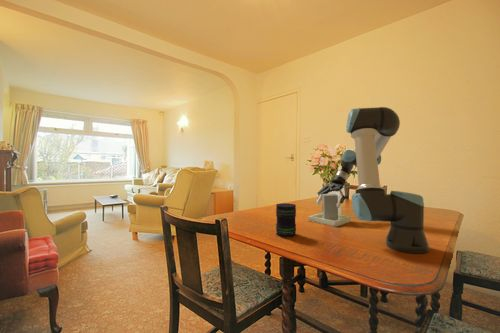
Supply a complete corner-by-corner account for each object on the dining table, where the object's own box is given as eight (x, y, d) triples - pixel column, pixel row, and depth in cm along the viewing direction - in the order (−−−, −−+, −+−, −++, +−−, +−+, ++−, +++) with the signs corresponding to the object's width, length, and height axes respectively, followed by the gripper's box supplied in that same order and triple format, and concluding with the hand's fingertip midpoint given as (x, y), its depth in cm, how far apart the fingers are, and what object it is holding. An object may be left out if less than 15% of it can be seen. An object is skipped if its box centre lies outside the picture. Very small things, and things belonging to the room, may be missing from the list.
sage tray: (334, 226, 134) (334, 221, 134) (308, 221, 147) (308, 216, 147) (350, 221, 145) (350, 216, 145) (324, 216, 159) (324, 212, 159)
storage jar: (282, 230, 126) (282, 202, 126) (299, 234, 120) (299, 204, 120) (272, 235, 118) (272, 205, 118) (289, 239, 112) (289, 207, 112)
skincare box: (335, 218, 149) (335, 193, 149) (338, 221, 142) (338, 194, 142) (321, 218, 150) (321, 193, 150) (324, 221, 143) (324, 194, 143)
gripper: (361, 184, 146) (349, 212, 137) (325, 182, 165) (312, 206, 156) (357, 176, 143) (344, 203, 133) (320, 174, 162) (307, 199, 152)
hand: (327, 205), depth 145 cm, fingers open, 13 cm apart
